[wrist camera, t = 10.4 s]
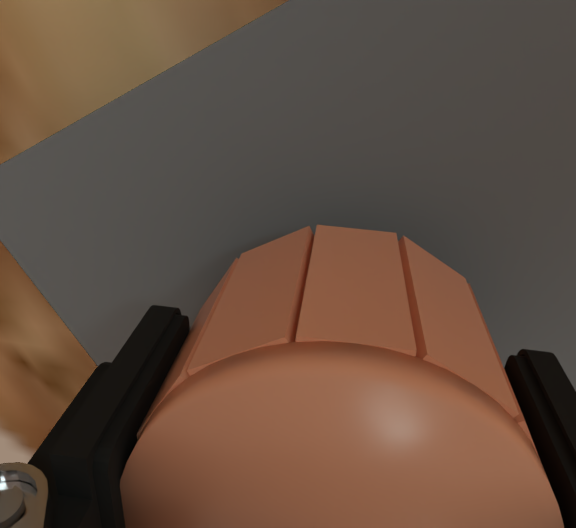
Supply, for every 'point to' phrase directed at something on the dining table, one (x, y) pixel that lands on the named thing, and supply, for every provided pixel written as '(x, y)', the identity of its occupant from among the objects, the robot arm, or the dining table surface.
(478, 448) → the orange dial knob
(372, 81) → the post stand
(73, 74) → the dining table surface
